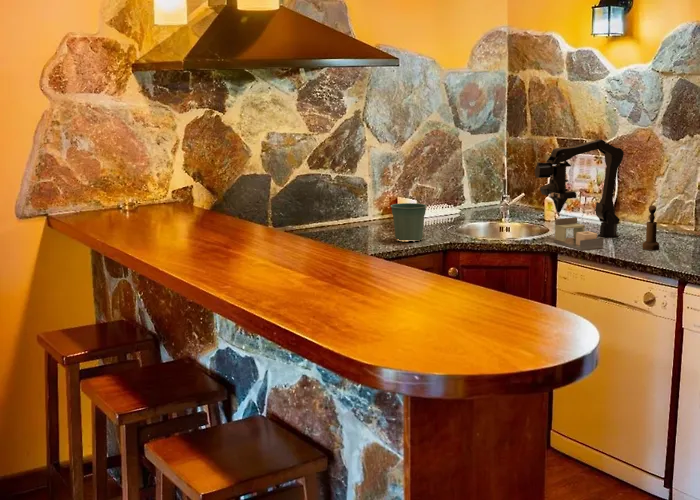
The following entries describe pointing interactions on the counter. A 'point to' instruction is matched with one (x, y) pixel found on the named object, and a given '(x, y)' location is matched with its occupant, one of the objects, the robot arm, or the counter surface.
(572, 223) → the cover
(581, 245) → the housing base
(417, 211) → the flower pot
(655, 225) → the brown pedestal figurine
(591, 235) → the collar
